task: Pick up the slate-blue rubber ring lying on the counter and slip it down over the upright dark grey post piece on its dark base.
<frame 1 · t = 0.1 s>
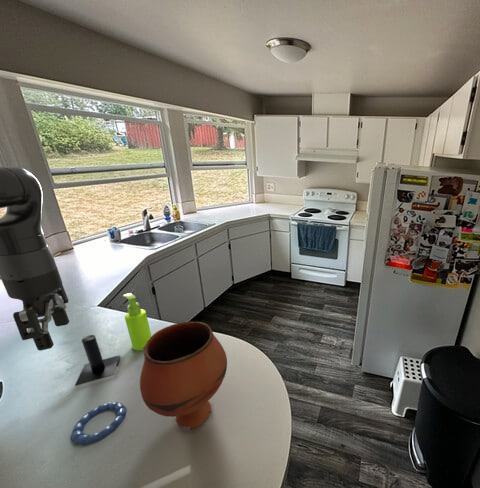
hand: (55, 335, 56), 27 cm above the table, tool pointing down, fingers open, 8 cm apart
soap dispenser: (142, 344, 91), on the table
ring: (100, 422, 63), point 1 cm above the table
goblet: (194, 414, 67), on the table
dark grey post piece: (99, 371, 79), on the table
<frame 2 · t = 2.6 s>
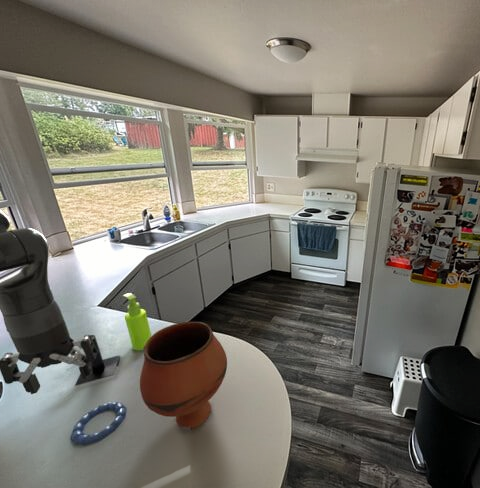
hand: (62, 383, 57), 16 cm above the table, tool pointing down, fingers open, 8 cm apart
nothing on the table moved.
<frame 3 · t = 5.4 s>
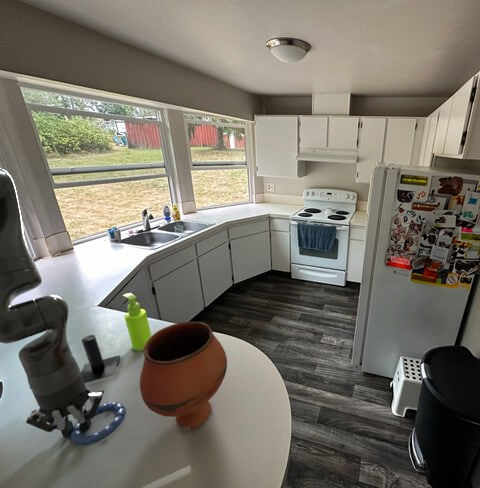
hand: (78, 432, 62), 0 cm above the table, tool pointing down, fingers closed on ring, 2 cm apart
ring: (99, 422, 63), point 1 cm above the table, touching gripper
everything else where it was.
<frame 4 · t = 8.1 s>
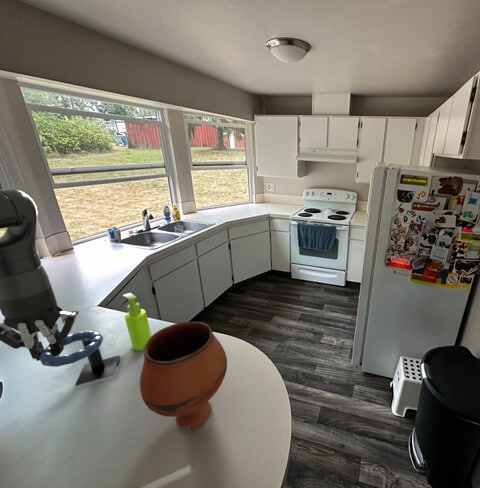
hand: (49, 355, 57), 22 cm above the table, tool pointing down, fingers closed on ring
ring: (73, 347, 58), point 23 cm above the table, touching gripper
everything else where it was.
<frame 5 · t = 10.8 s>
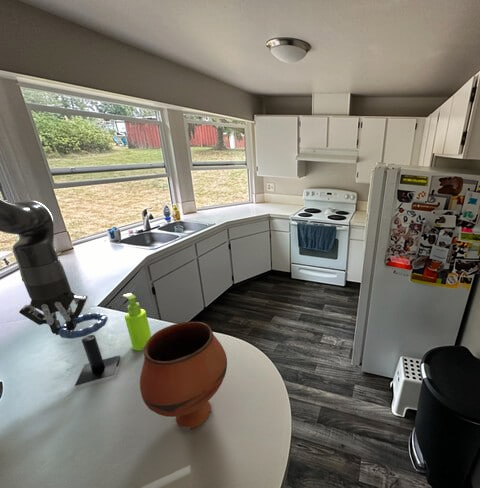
hand: (65, 331, 71), 17 cm above the table, tool pointing down, fingers closed on ring
ring: (83, 325, 73), point 18 cm above the table, touching gripper
everything else where it was.
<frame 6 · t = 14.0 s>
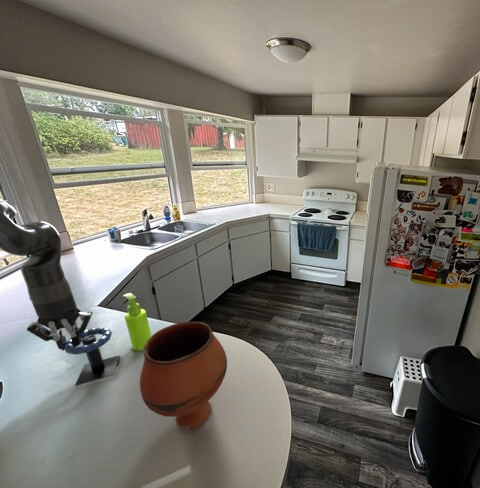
hand: (71, 346, 73), 11 cm above the table, tool pointing down, fingers closed on ring
ring: (89, 340, 75), point 12 cm above the table, touching gripper
everything else where it was.
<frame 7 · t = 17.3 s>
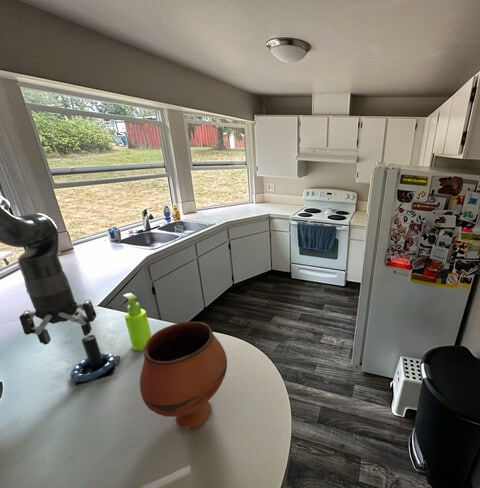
hand: (67, 338, 72), 15 cm above the table, tool pointing down, fingers open, 8 cm apart
ring: (93, 366, 78), point 2 cm above the table, touching dark grey post piece
everything else where it was.
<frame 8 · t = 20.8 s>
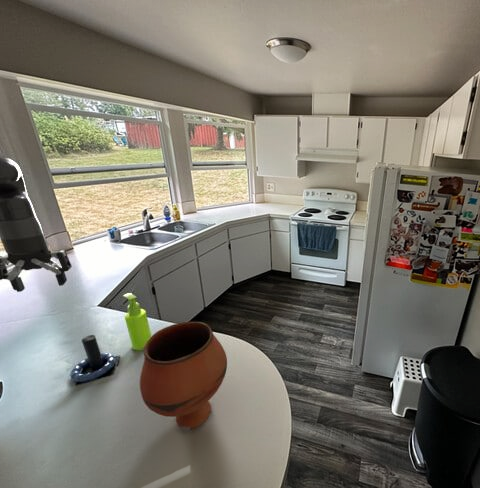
hand: (42, 287, 72), 28 cm above the table, tool pointing down, fingers open, 8 cm apart
nothing on the table moved.
at the end: ring 1.3 cm from the dark grey post piece (horizontally); ring point 2.0 cm above the table; the gripper is holding nothing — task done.
